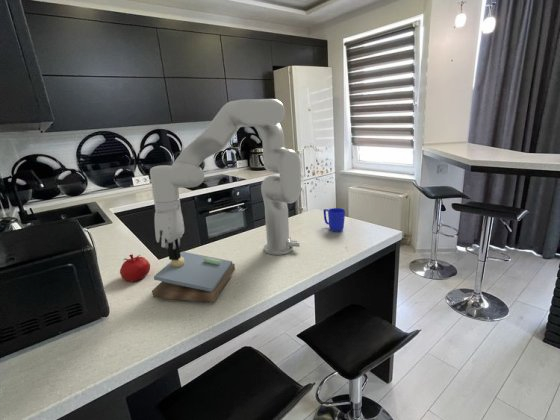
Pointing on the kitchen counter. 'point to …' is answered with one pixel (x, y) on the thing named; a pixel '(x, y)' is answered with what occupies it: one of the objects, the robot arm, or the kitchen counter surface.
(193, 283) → the plate
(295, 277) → the kitchen counter surface
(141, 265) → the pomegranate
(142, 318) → the kitchen counter surface
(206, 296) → the wooden board
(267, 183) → the robot arm
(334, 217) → the mug
